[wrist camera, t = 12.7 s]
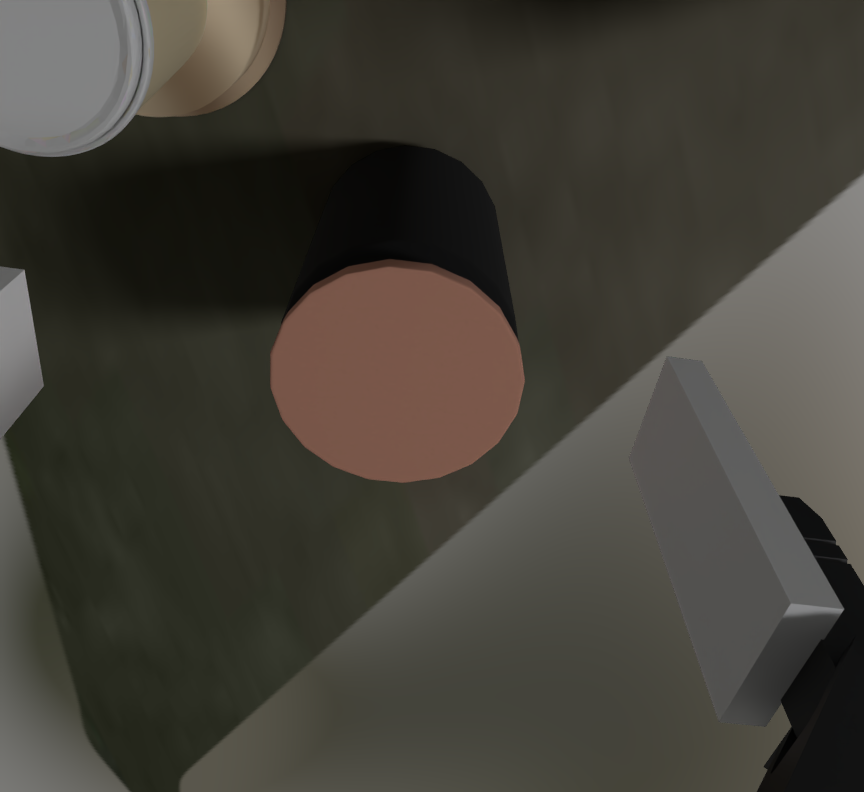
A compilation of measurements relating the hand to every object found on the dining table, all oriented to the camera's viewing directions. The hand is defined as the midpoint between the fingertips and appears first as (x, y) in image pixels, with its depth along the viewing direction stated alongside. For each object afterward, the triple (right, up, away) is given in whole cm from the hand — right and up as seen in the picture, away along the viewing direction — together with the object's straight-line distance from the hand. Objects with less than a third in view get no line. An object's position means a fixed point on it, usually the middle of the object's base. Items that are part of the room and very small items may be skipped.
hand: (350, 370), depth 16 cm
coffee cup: (-13, +19, +20) cm, 30 cm away
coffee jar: (0, +10, +31) cm, 32 cm away
